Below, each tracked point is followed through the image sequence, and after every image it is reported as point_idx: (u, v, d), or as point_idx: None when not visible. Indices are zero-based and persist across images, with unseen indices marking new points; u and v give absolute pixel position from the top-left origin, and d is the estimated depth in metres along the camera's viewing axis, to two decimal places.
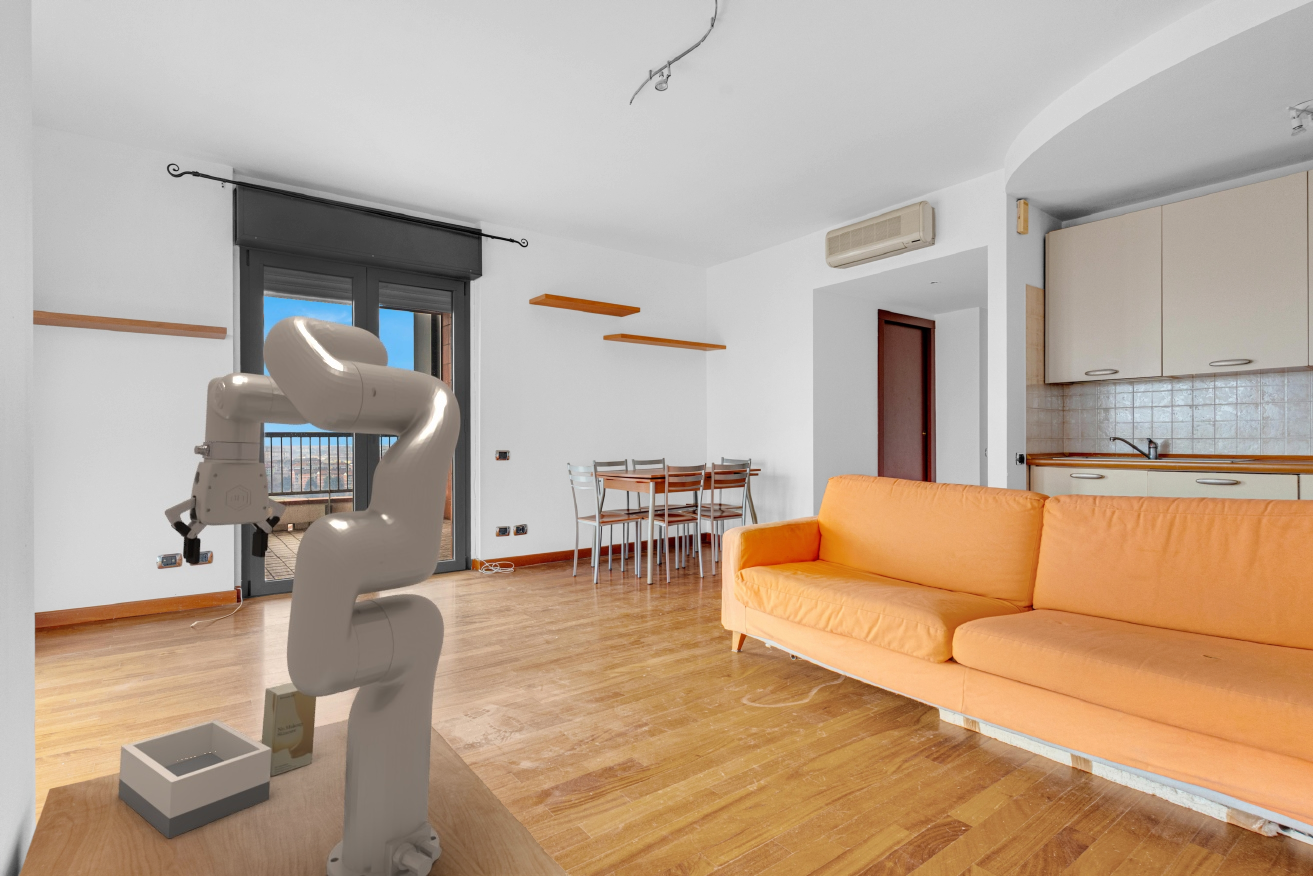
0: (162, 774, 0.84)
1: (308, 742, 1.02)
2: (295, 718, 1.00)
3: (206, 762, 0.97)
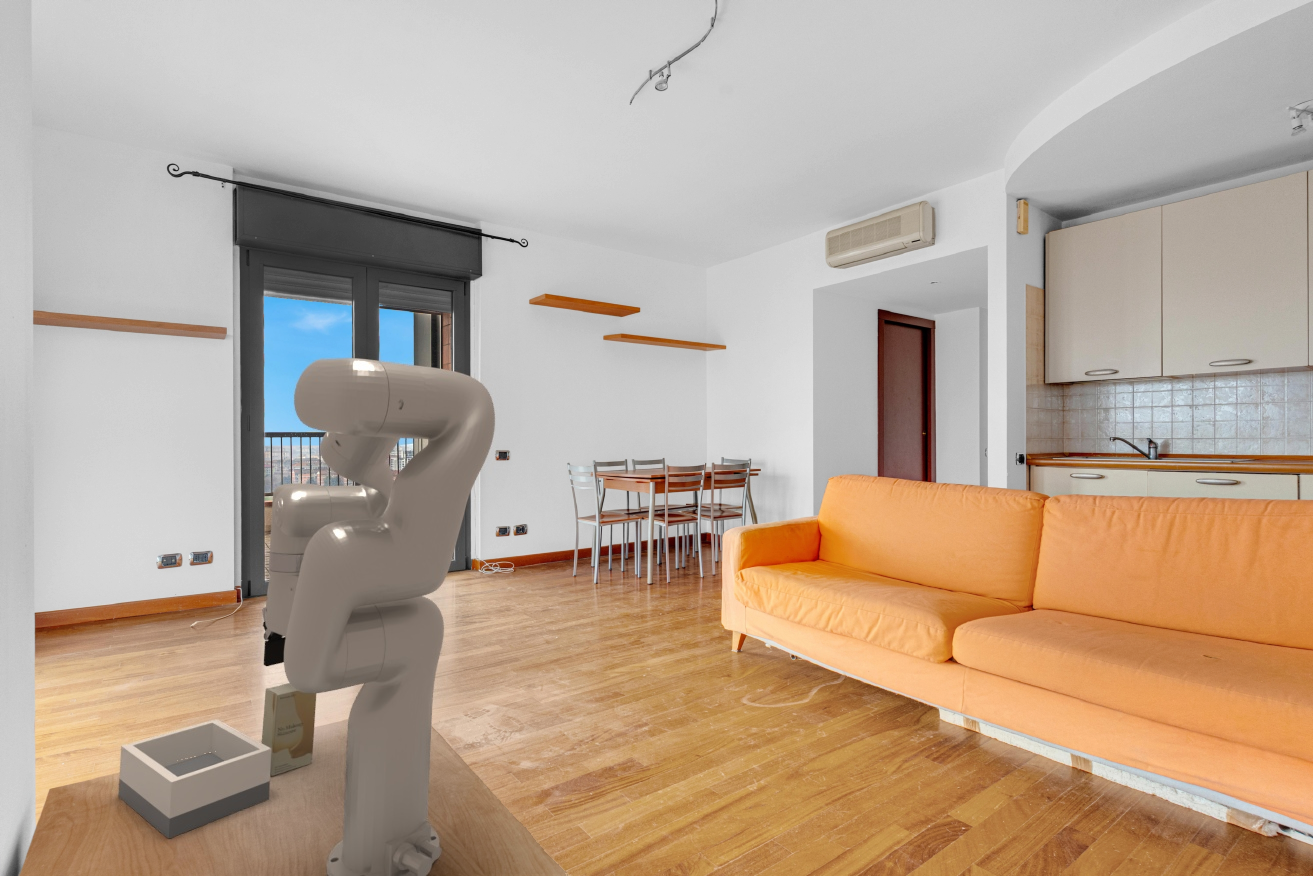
0: (162, 774, 0.84)
1: (308, 742, 1.02)
2: (295, 718, 1.00)
3: (206, 762, 0.97)
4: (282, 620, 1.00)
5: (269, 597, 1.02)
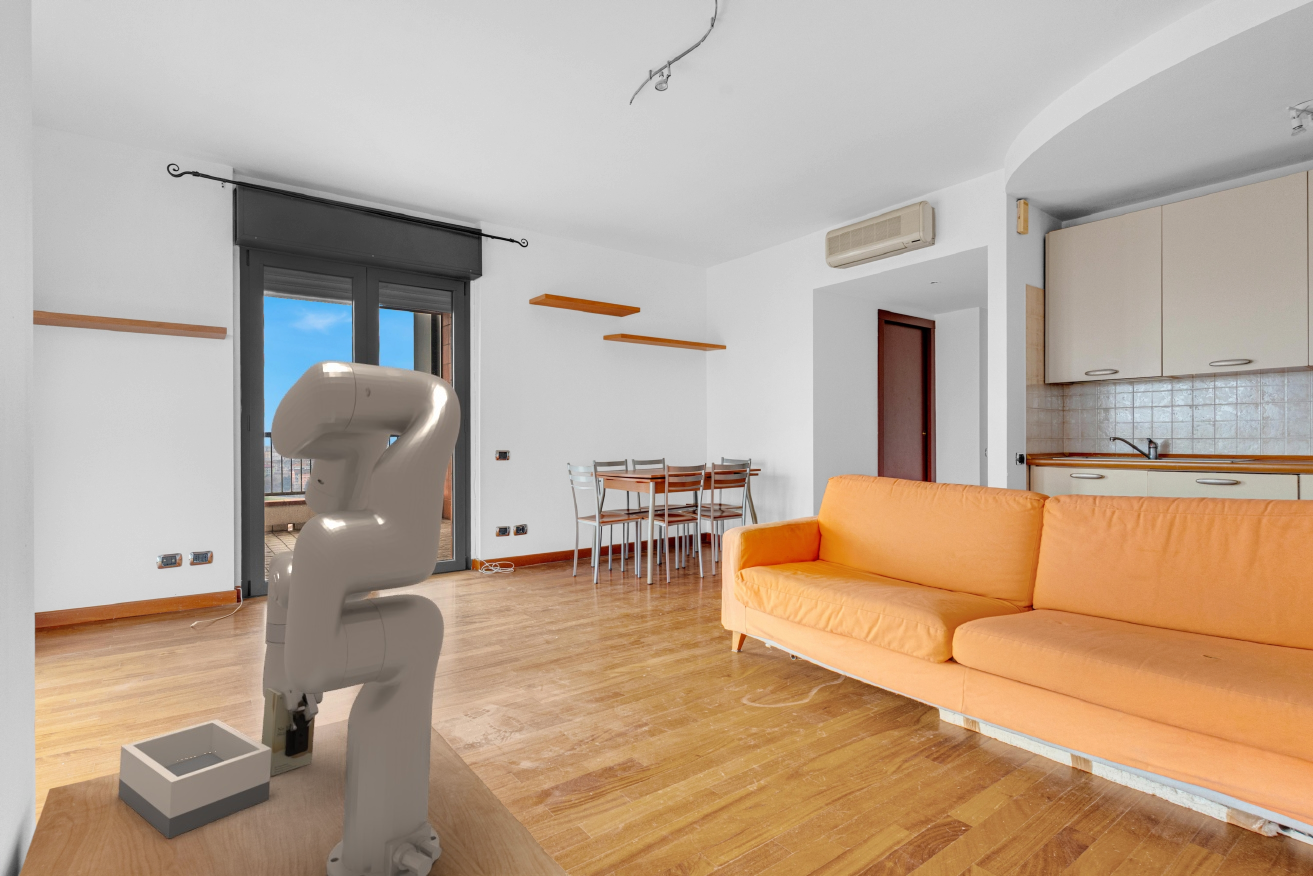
0: (162, 774, 0.84)
1: (308, 742, 1.02)
2: None
3: (206, 762, 0.97)
4: (279, 691, 0.99)
5: (266, 667, 1.02)
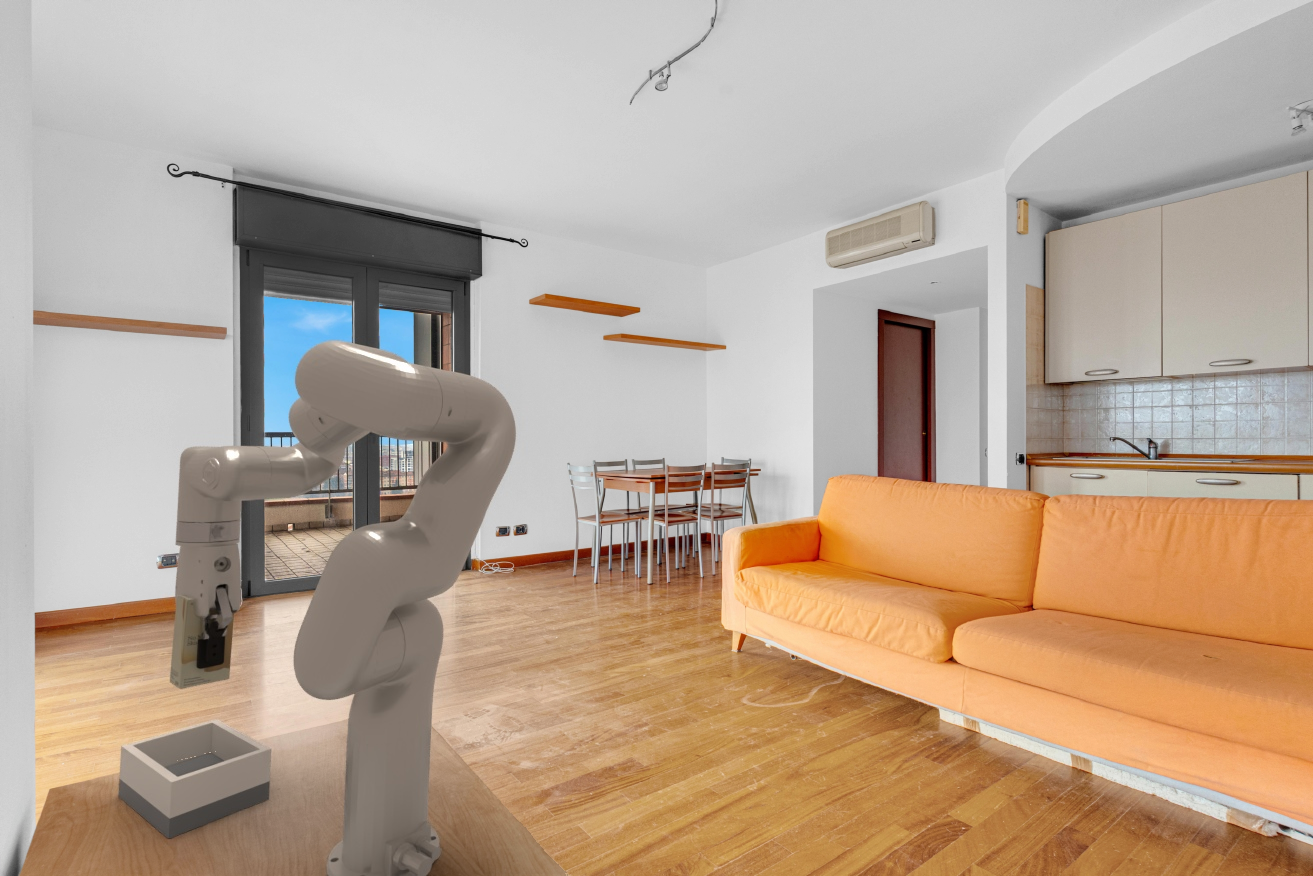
0: (162, 774, 0.84)
1: (225, 655, 0.92)
2: None
3: (206, 762, 0.97)
4: (190, 596, 0.90)
5: (178, 572, 0.92)
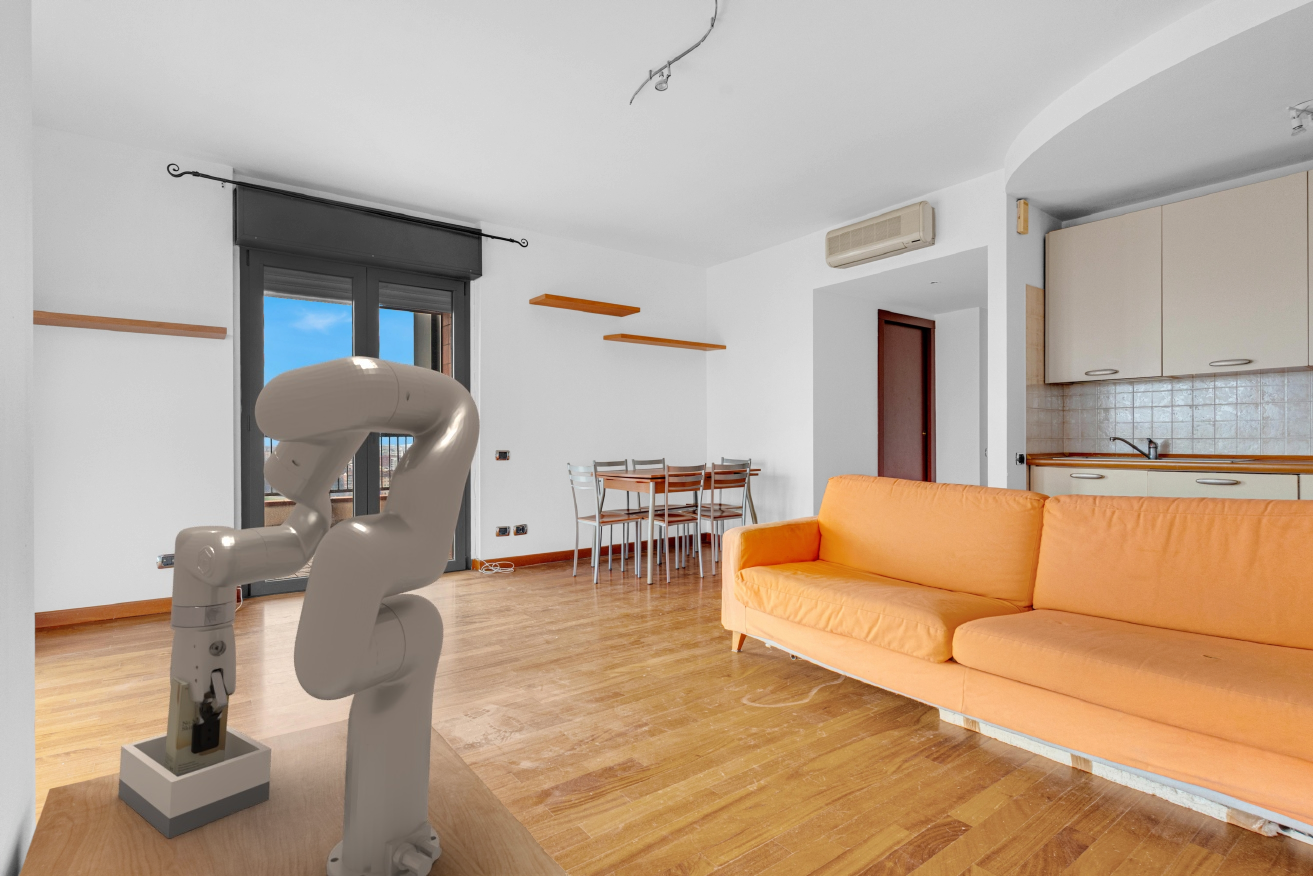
0: (162, 774, 0.84)
1: (220, 737, 0.92)
2: (204, 710, 0.90)
3: None
4: (185, 681, 0.89)
5: (173, 654, 0.92)
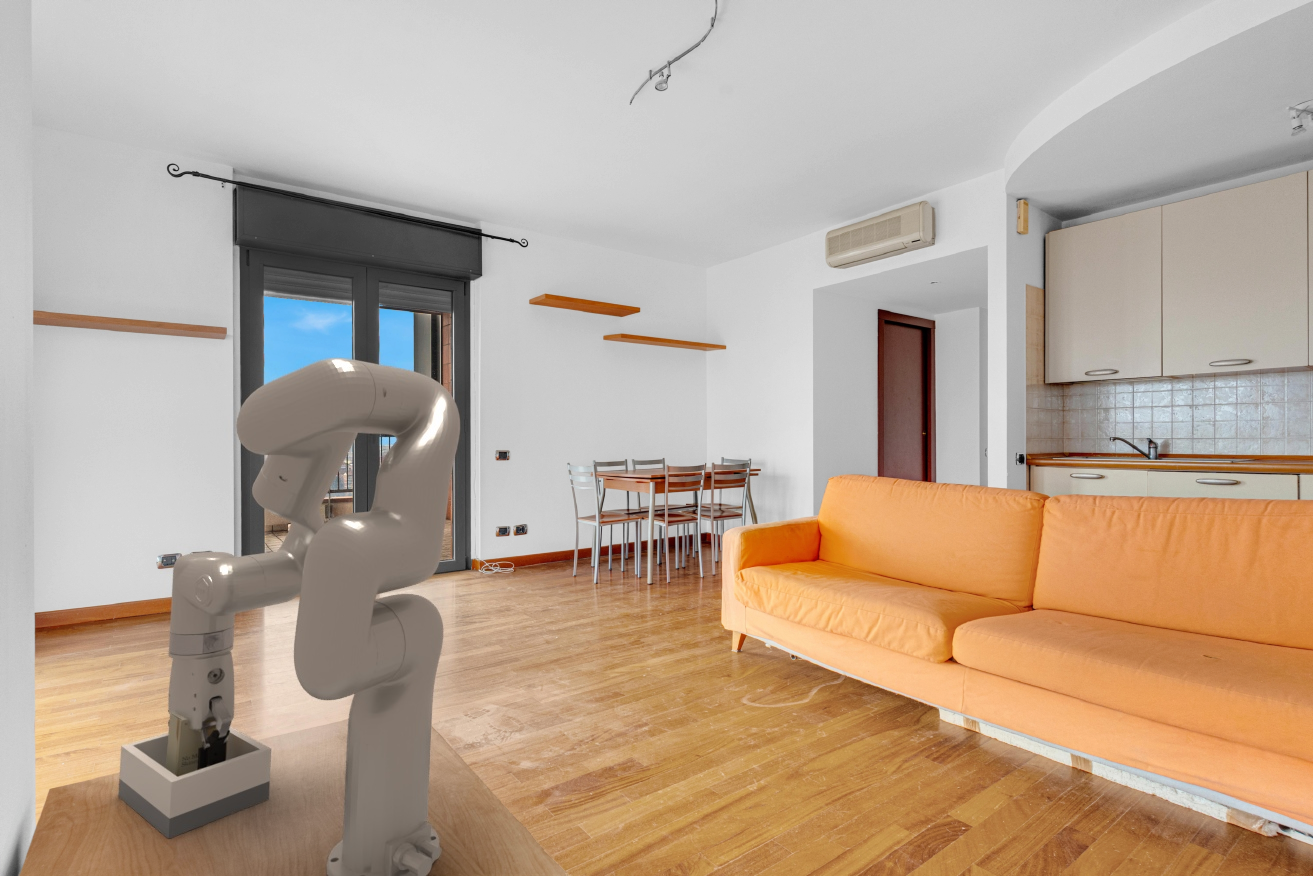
0: (162, 774, 0.84)
1: None
2: None
3: None
4: (183, 709, 0.89)
5: (171, 681, 0.92)
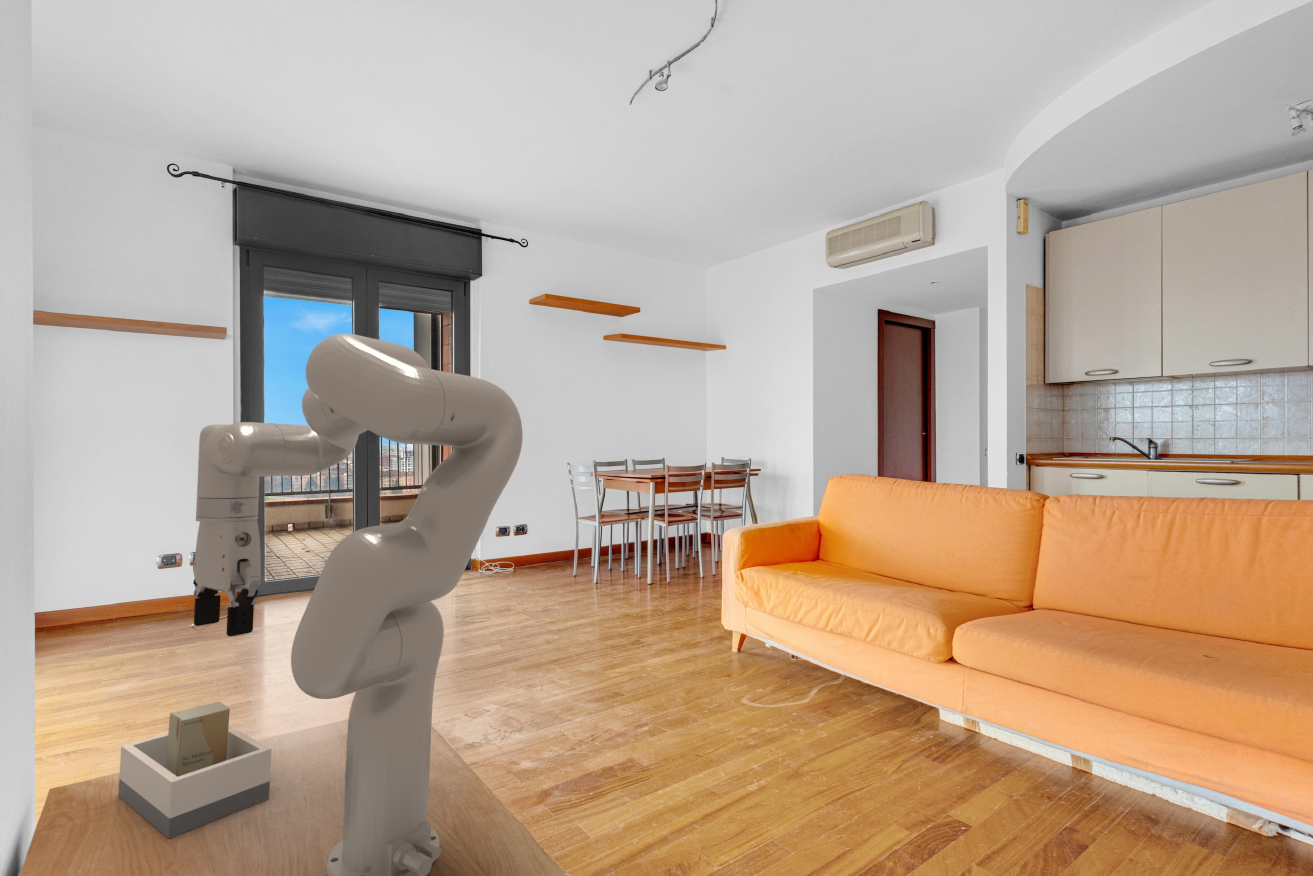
0: (162, 774, 0.84)
1: None
2: (203, 745, 0.90)
3: None
4: (211, 571, 0.91)
5: (198, 549, 0.94)
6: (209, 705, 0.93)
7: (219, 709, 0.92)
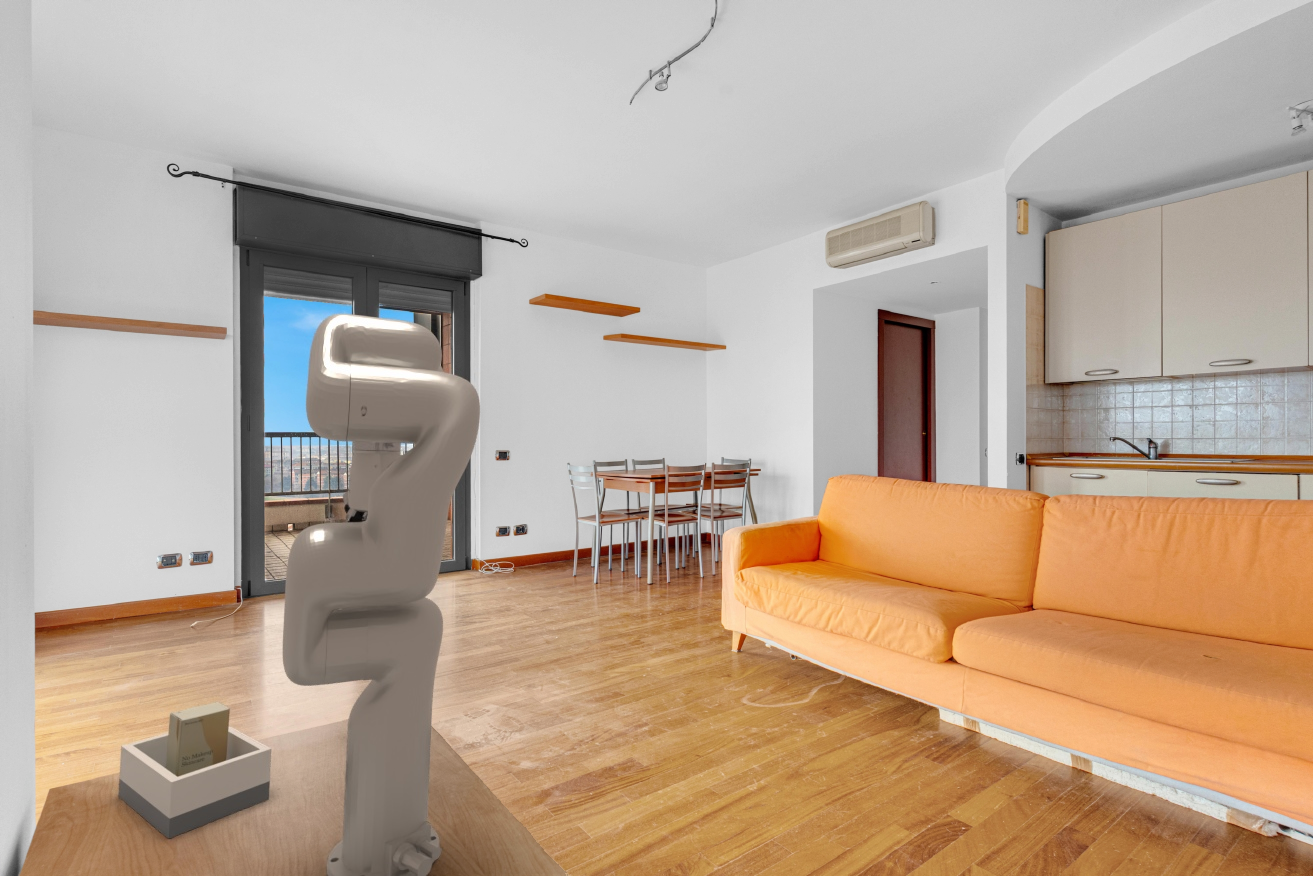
0: (162, 774, 0.84)
1: None
2: (203, 745, 0.90)
3: None
4: (366, 496, 1.07)
5: (352, 478, 1.10)
6: (209, 705, 0.93)
7: (219, 709, 0.92)
